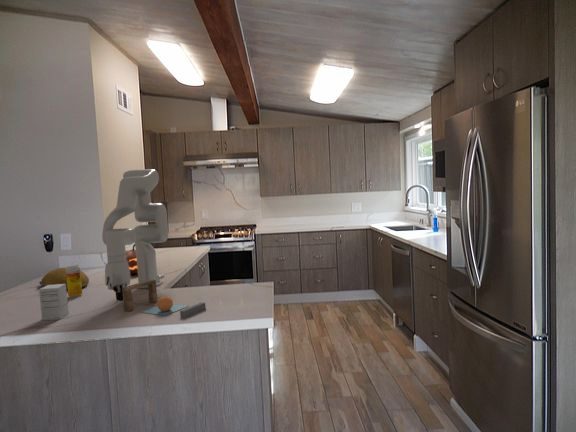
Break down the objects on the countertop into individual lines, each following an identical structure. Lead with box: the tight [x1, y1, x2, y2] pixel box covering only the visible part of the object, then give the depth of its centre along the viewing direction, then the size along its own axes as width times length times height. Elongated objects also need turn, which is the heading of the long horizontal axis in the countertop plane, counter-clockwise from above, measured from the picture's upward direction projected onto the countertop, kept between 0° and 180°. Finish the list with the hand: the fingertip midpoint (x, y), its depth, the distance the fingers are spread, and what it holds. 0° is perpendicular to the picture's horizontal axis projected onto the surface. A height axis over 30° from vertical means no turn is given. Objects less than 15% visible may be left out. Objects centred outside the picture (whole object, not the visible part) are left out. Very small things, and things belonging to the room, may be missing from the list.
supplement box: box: [38, 284, 69, 321], centre depth 163 cm, size 7×7×13 cm
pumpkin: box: [126, 243, 138, 276], centre depth 250 cm, size 25×25×19 cm
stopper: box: [179, 302, 207, 319], centre depth 158 cm, size 12×2×2 cm, turn 151°
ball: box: [156, 296, 174, 312], centre depth 163 cm, size 6×6×6 cm
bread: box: [41, 267, 90, 290], centre depth 224 cm, size 18×35×10 cm, turn 53°
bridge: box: [122, 280, 158, 313], centre depth 172 cm, size 3×15×10 cm, turn 151°
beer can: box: [65, 264, 83, 299], centre depth 197 cm, size 6×6×15 cm
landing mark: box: [141, 303, 190, 317], centre depth 166 cm, size 13×13×1 cm
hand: (120, 300), depth 179 cm, fingers closed
